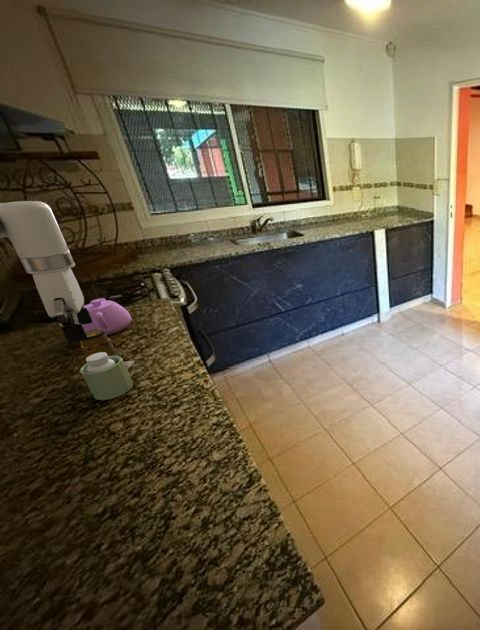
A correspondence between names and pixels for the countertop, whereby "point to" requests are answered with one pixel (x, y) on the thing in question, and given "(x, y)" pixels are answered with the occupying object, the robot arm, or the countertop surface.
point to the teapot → (107, 316)
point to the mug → (108, 380)
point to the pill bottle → (99, 362)
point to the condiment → (99, 345)
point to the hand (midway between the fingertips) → (81, 331)
